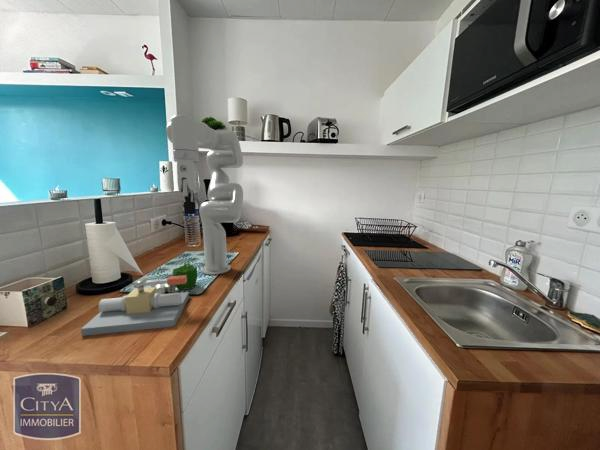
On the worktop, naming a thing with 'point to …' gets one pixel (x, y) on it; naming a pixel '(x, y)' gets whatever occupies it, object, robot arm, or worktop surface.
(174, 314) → the pipe board
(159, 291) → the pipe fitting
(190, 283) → the bell pepper
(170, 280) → the valve lever
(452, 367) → the worktop surface
